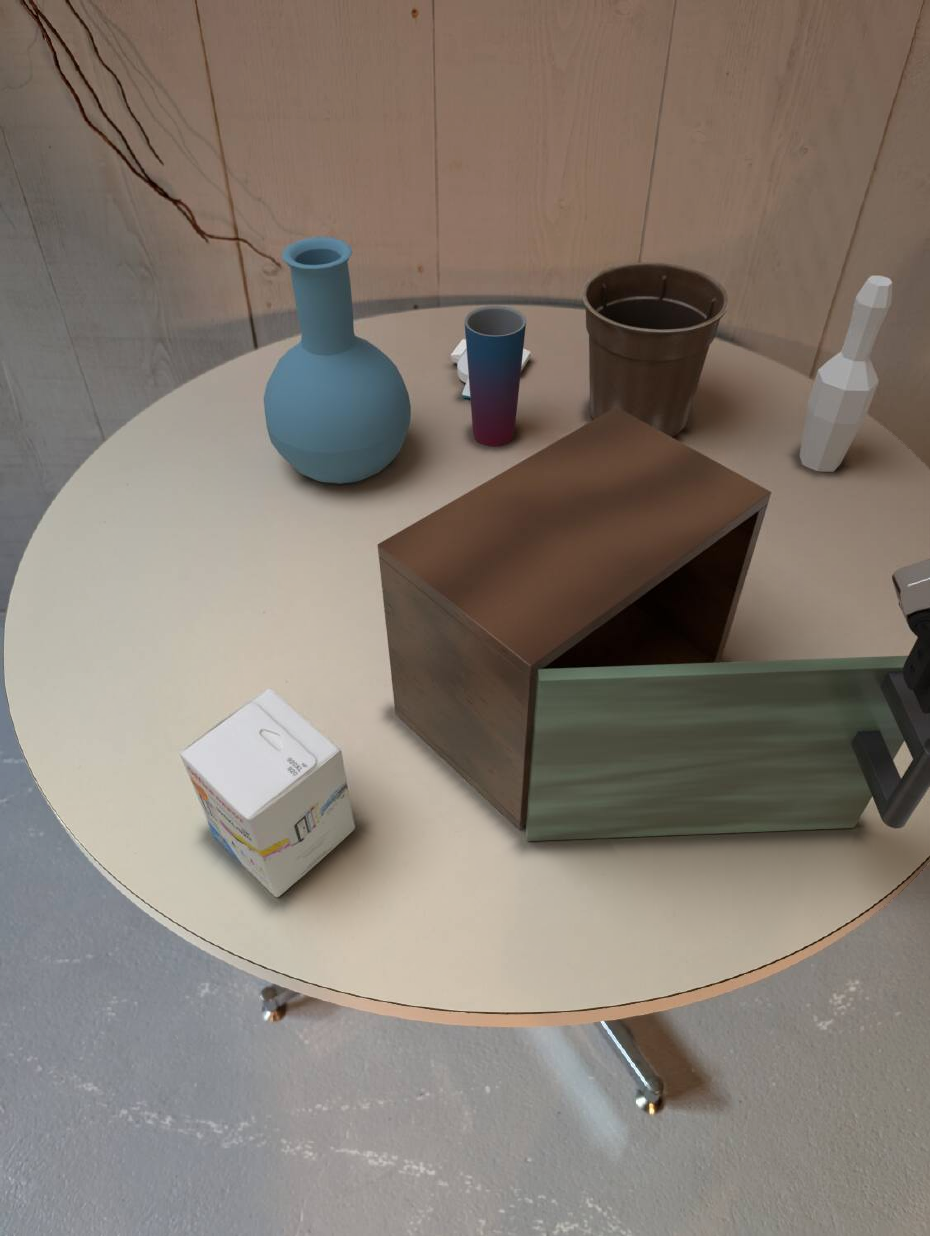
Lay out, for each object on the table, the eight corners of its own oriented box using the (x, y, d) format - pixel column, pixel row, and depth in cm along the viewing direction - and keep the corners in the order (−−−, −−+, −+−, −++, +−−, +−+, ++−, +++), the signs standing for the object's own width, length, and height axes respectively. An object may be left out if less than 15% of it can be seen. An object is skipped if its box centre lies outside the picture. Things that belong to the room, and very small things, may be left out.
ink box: (209, 834, 73) (173, 750, 65) (290, 769, 77) (267, 682, 69) (276, 902, 69) (248, 822, 61) (358, 829, 73) (343, 745, 65)
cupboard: (720, 663, 85) (772, 491, 70) (519, 830, 73) (530, 666, 58) (594, 575, 94) (616, 406, 79) (394, 713, 81) (376, 544, 67)
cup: (461, 447, 109) (459, 333, 98) (470, 415, 114) (469, 303, 103) (517, 453, 108) (522, 338, 97) (524, 420, 113) (529, 307, 102)
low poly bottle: (844, 481, 104) (911, 300, 88) (788, 469, 105) (843, 289, 90) (850, 450, 108) (915, 272, 92) (795, 439, 110) (850, 262, 94)
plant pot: (553, 437, 110) (562, 313, 99) (592, 370, 120) (605, 251, 109) (685, 467, 106) (711, 342, 94) (715, 395, 116) (741, 274, 104)
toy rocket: (473, 333, 127) (473, 318, 126) (540, 345, 125) (540, 330, 123) (431, 392, 117) (430, 376, 116) (502, 407, 115) (502, 391, 113)
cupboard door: (884, 908, 68) (995, 753, 54) (534, 922, 68) (550, 770, 53) (849, 817, 74) (942, 653, 59) (525, 830, 73) (537, 668, 58)
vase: (414, 416, 114) (402, 214, 95) (413, 500, 102) (399, 289, 84) (282, 419, 113) (244, 218, 95) (265, 504, 102) (220, 293, 84)
